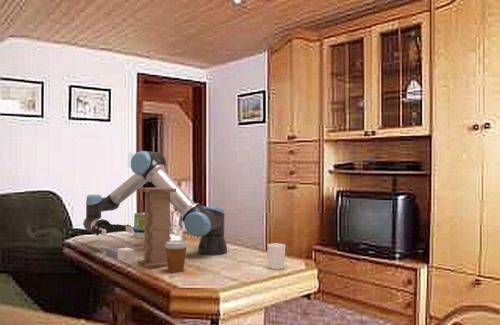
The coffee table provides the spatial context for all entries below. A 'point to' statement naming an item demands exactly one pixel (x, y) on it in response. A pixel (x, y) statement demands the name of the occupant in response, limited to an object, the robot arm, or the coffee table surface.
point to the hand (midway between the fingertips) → (119, 231)
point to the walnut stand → (156, 226)
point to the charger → (121, 254)
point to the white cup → (276, 255)
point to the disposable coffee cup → (175, 255)
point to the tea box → (139, 225)
